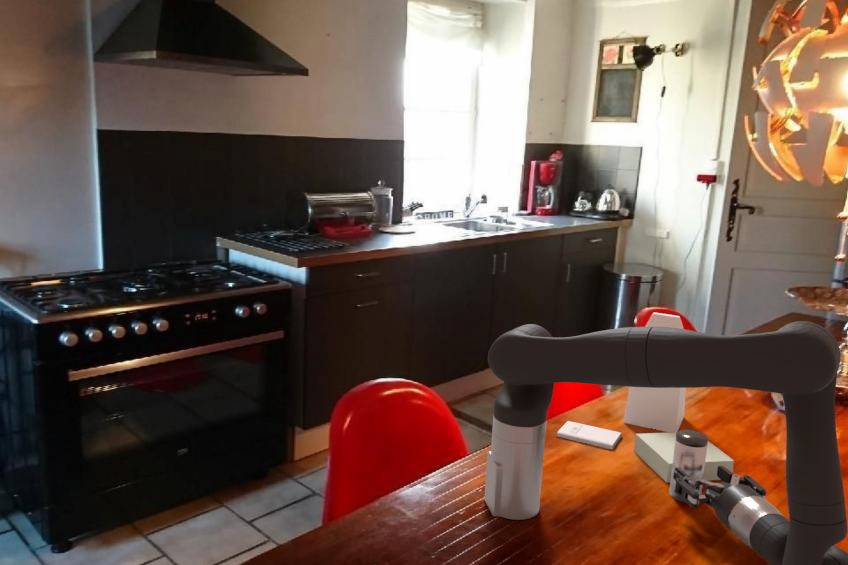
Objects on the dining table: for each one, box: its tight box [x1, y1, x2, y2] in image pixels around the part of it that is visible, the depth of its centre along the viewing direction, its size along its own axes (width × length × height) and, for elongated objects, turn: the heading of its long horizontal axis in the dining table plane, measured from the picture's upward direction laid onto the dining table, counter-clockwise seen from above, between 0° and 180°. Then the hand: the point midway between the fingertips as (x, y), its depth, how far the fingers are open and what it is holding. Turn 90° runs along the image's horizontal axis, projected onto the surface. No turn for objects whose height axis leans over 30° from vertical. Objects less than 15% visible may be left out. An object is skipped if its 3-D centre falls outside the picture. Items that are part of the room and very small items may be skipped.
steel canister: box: [668, 429, 709, 503], centre depth 133 cm, size 6×6×12 cm
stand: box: [633, 432, 735, 483], centre depth 147 cm, size 14×14×4 cm
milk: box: [623, 312, 687, 433], centre depth 168 cm, size 12×12×26 cm
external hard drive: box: [556, 420, 623, 451], centre depth 159 cm, size 2×8×12 cm
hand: (697, 471), depth 130 cm, fingers open, 8 cm apart
